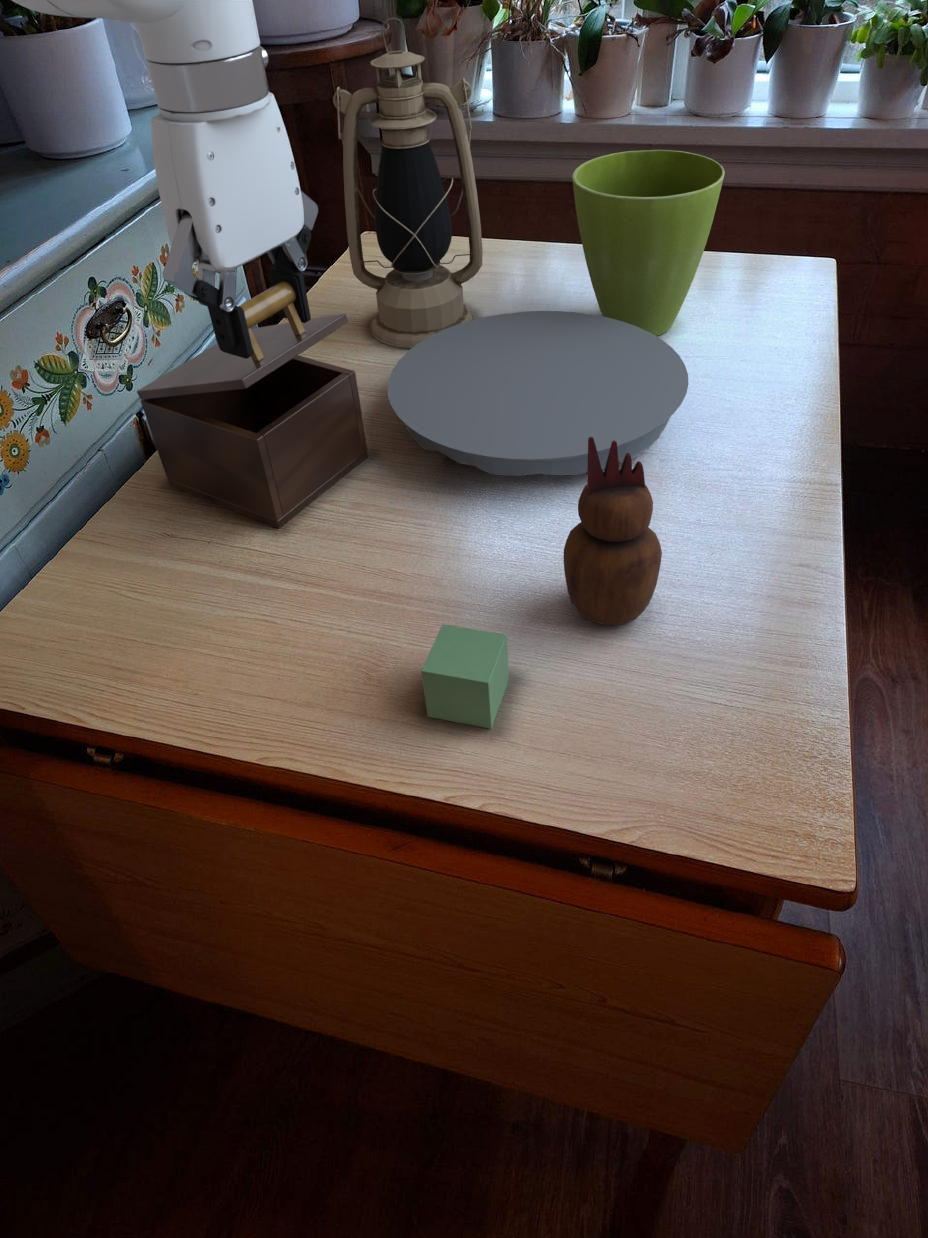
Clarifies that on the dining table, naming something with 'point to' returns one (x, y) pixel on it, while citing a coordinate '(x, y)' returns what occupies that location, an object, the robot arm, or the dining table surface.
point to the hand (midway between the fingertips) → (266, 333)
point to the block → (466, 676)
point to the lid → (267, 343)
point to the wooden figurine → (612, 543)
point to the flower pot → (645, 230)
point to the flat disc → (537, 391)
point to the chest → (263, 439)
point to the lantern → (410, 202)
